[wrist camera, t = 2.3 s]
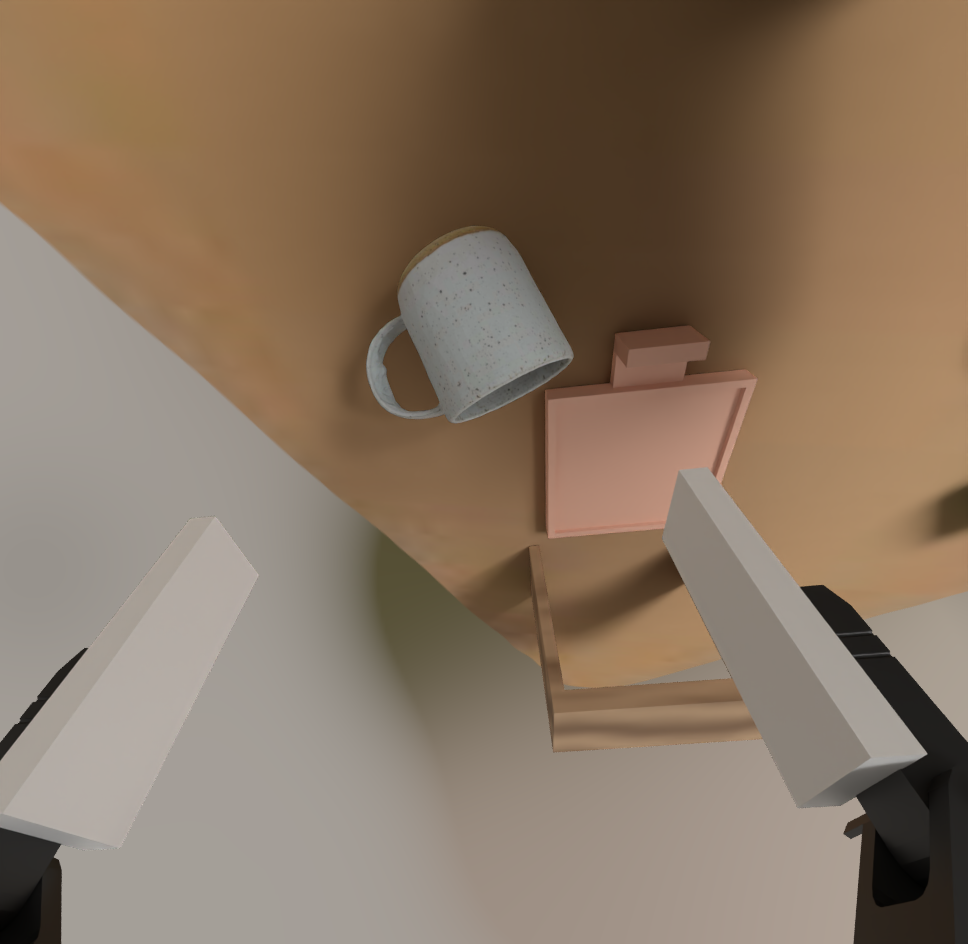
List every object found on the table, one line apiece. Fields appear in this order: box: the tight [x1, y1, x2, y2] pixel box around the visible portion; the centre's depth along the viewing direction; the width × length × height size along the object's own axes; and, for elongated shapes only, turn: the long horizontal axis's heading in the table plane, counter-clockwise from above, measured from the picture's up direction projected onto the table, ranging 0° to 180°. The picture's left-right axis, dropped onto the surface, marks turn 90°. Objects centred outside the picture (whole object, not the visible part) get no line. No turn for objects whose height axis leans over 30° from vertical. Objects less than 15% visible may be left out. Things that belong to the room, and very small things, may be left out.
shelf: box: [529, 545, 763, 752], centre depth 36 cm, size 8×18×16 cm, turn 96°
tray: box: [545, 325, 758, 539], centre depth 32 cm, size 18×15×3 cm
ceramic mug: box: [366, 226, 574, 423], centre depth 22 cm, size 11×8×8 cm
